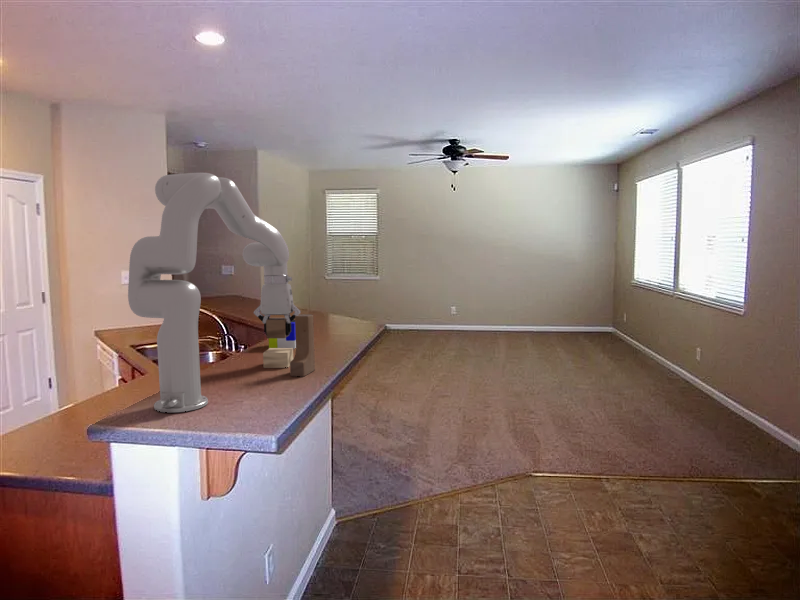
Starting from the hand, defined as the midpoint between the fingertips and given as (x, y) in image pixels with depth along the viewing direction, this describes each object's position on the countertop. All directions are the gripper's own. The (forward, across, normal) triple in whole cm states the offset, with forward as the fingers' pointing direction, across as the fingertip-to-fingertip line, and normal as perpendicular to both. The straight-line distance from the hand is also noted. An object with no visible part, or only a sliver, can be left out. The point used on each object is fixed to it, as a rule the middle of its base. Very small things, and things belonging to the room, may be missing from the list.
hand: (278, 334), depth 183 cm
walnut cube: (+1, 0, 0) cm, 1 cm away
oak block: (+10, 0, 0) cm, 10 cm away
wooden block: (+11, -10, +12) cm, 19 cm away
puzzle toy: (+11, +6, -33) cm, 35 cm away
